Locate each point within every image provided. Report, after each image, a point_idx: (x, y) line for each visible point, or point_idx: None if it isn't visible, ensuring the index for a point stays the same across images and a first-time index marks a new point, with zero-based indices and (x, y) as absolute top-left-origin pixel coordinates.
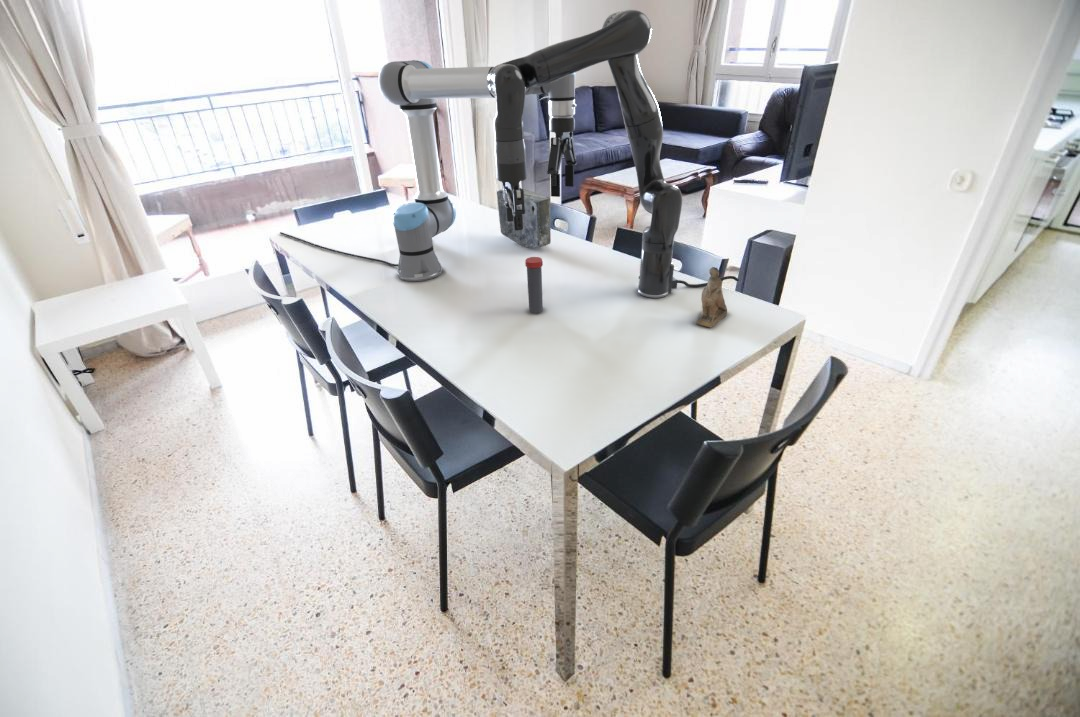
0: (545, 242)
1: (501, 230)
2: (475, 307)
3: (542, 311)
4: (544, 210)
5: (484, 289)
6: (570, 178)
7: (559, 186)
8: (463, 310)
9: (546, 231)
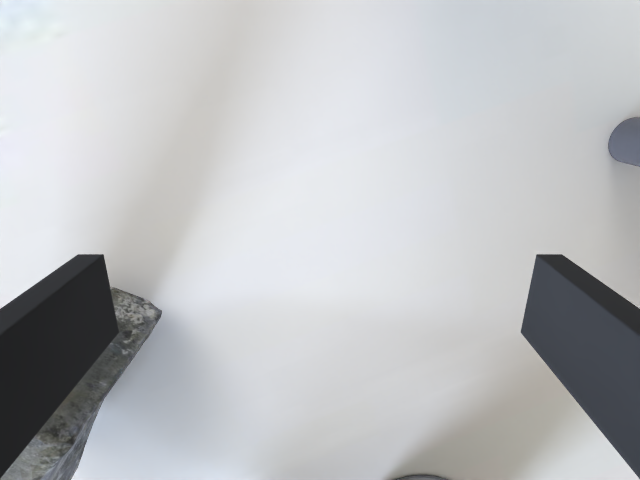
0: (129, 300)
1: (74, 472)
2: None
3: (637, 117)
4: None
5: (489, 339)
6: (58, 327)
7: (624, 305)
8: None
9: None
